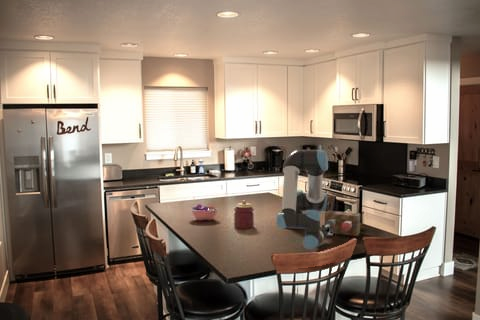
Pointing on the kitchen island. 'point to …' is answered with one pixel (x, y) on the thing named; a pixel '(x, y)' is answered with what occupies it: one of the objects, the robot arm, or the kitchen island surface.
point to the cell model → (204, 212)
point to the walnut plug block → (343, 217)
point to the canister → (244, 216)
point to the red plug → (347, 225)
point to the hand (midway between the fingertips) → (328, 226)
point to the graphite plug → (331, 222)
